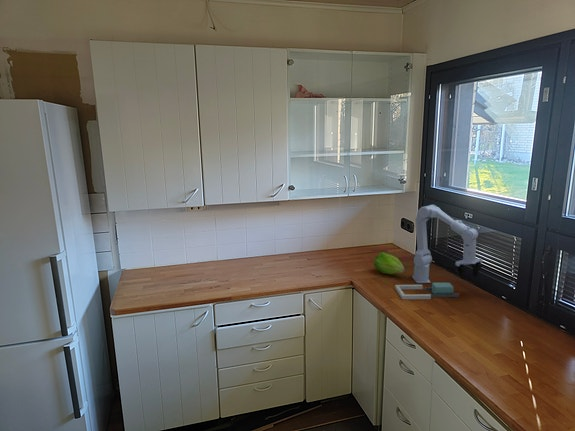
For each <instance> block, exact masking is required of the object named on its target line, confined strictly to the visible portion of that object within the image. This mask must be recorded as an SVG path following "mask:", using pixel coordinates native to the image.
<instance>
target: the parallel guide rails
mask: <svg viewBox="0 0 575 431" xmlns="http://www.w3.org/2000/svg"><path fill="white" fill-rule="evenodd" d="M423 290H424V291H425V292H430V291H431V292H432V286H430V287H429V286H428V287H426V286H425V287H424V286H423ZM429 294H430V295H431V298H459V297H460V293H454V292H453V293H438V294H434V293H429Z"/></svg>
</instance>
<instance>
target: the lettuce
mask: <svg viewBox="0 0 575 431" xmlns="http://www.w3.org/2000/svg"><path fill="white" fill-rule="evenodd" d="M373 266H374V268H375V269H376V270H377V271H378V272H380V273H382V274H387V275H396V274H400V273H404V272H405V270H406V269H405V267H404V265H403V264H402V261H400V259H399V258H398V257H396V256H394V255H392V254H390V253H386V252H380V253H378V254H377V255H376V257H375V258H374V261H373Z"/></svg>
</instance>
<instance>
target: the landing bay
mask: <svg viewBox="0 0 575 431" xmlns="http://www.w3.org/2000/svg"><path fill="white" fill-rule="evenodd" d="M394 285H395V286H394V289H395V291H396V292H397V294H398V295H399V297H400V298H401V299H402V300H431V299H432V297H431V295H430V294H431V293H429V294H426V293H425V294H423V293H422V294H414V293H413V294H405V293H404V291H403V290H424V286H423V284H394Z"/></svg>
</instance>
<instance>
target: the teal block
mask: <svg viewBox="0 0 575 431" xmlns="http://www.w3.org/2000/svg"><path fill="white" fill-rule="evenodd" d="M431 283H432V284H431V287H432V291H431V292H432V294H438V293H454V290H455V289H454V285H452V284H451V283H450V282H431Z"/></svg>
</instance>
